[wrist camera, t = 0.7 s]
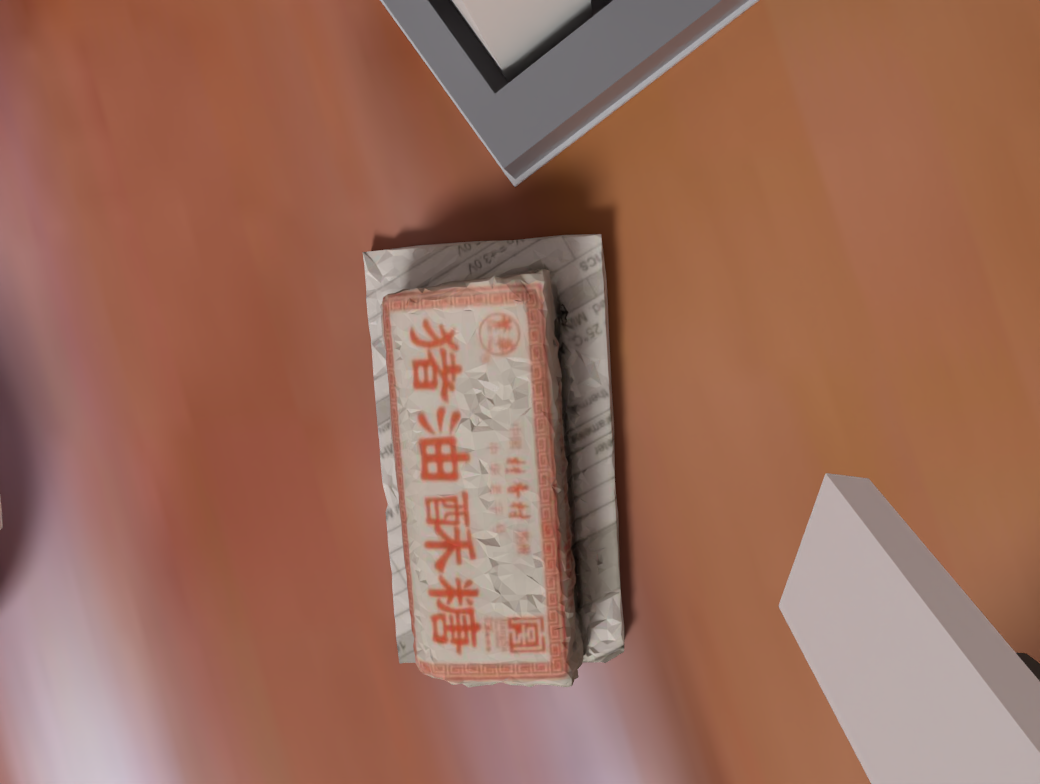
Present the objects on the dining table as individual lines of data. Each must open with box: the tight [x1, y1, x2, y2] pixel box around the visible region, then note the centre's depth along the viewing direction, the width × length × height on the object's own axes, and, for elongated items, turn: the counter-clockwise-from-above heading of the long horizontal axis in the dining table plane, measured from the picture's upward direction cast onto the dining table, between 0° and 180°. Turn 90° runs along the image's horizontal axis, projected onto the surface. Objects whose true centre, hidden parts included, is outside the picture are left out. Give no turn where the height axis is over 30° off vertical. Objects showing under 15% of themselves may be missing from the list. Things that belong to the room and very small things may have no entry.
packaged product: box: [363, 234, 624, 687], centre depth 36 cm, size 18×5×10 cm
